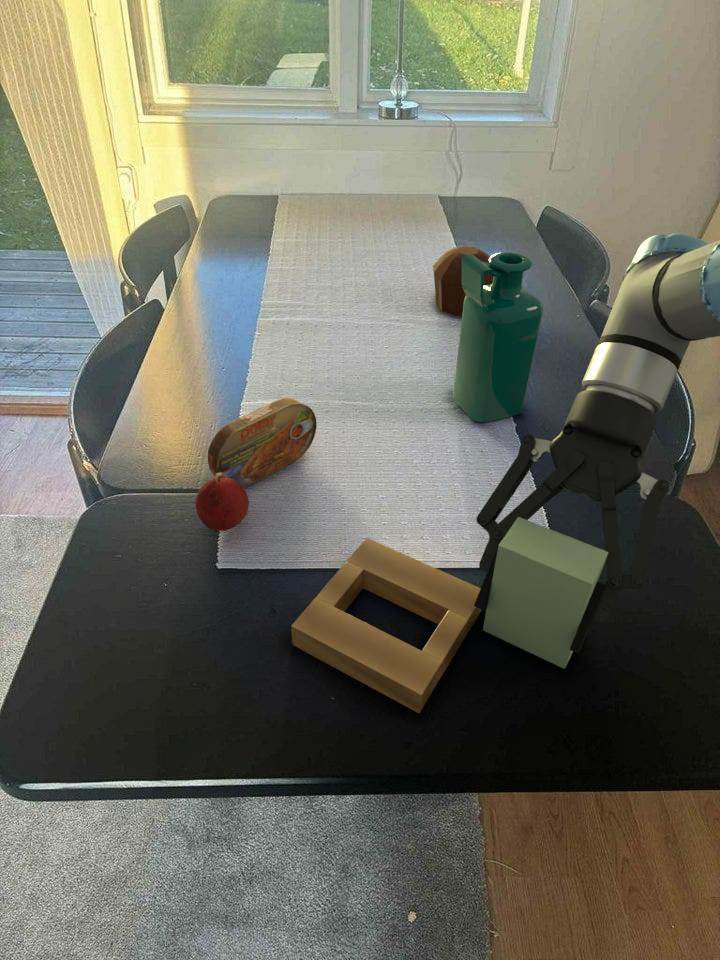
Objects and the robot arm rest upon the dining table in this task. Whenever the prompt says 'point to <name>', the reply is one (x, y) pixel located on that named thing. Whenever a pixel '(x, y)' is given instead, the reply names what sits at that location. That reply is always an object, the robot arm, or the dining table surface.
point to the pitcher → (495, 337)
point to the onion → (222, 503)
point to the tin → (262, 441)
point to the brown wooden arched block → (455, 278)
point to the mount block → (375, 651)
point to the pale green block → (541, 589)
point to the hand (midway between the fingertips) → (526, 628)
